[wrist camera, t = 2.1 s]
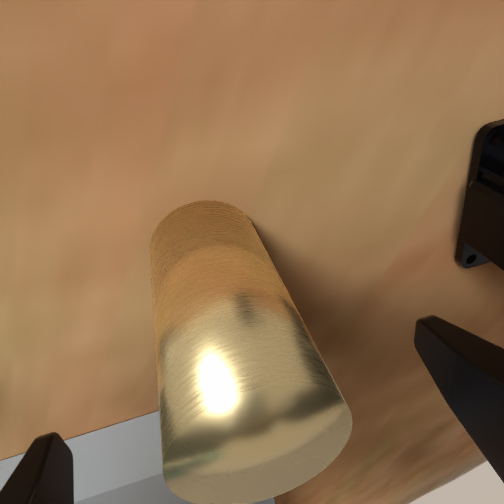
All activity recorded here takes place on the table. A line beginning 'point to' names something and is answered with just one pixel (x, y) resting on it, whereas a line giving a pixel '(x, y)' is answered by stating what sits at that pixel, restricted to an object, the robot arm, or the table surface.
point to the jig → (117, 465)
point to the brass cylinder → (235, 365)
